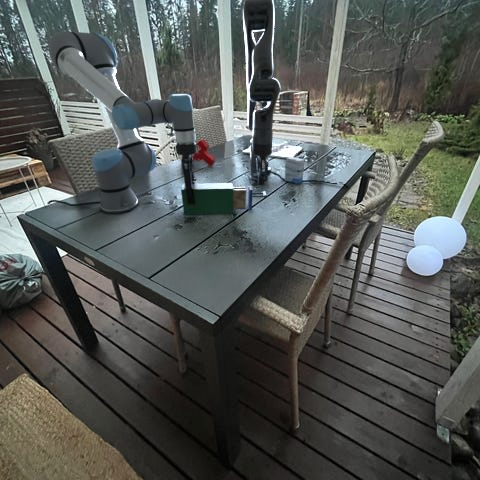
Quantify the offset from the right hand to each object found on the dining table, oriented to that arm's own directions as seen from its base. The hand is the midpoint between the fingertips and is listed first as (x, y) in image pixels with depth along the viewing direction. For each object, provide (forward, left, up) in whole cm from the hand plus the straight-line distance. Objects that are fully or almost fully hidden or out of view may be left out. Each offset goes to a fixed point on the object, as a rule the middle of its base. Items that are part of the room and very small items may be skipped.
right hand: (260, 185), depth 110 cm
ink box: (-22, -31, -11) cm, 40 cm away
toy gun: (+30, -65, -11) cm, 73 cm away
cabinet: (+22, 0, -11) cm, 24 cm away
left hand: (+28, 0, -6) cm, 29 cm away
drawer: (+10, 0, -10) cm, 14 cm away
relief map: (-21, -91, -11) cm, 95 cm away
